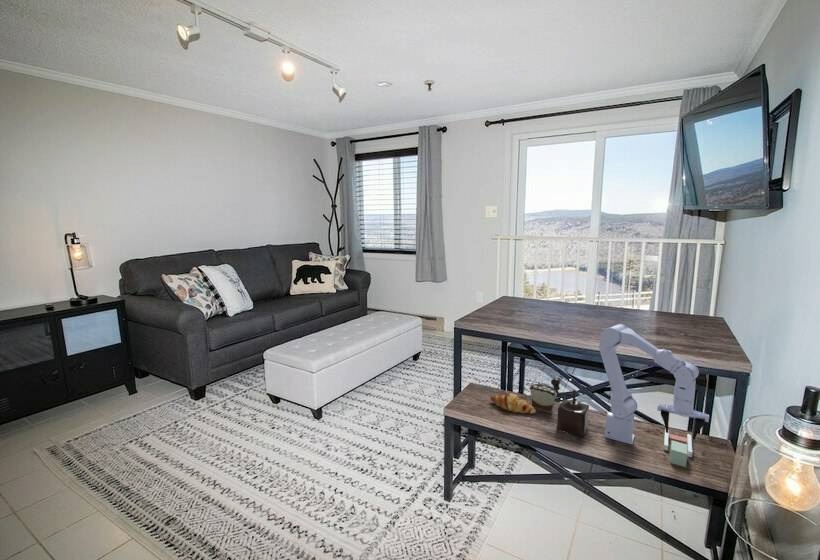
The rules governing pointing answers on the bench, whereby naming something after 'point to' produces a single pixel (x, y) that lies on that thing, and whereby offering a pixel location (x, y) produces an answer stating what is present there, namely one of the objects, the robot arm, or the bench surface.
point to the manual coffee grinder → (571, 413)
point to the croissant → (513, 403)
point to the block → (678, 453)
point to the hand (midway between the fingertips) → (680, 434)
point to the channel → (679, 438)
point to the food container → (543, 397)
